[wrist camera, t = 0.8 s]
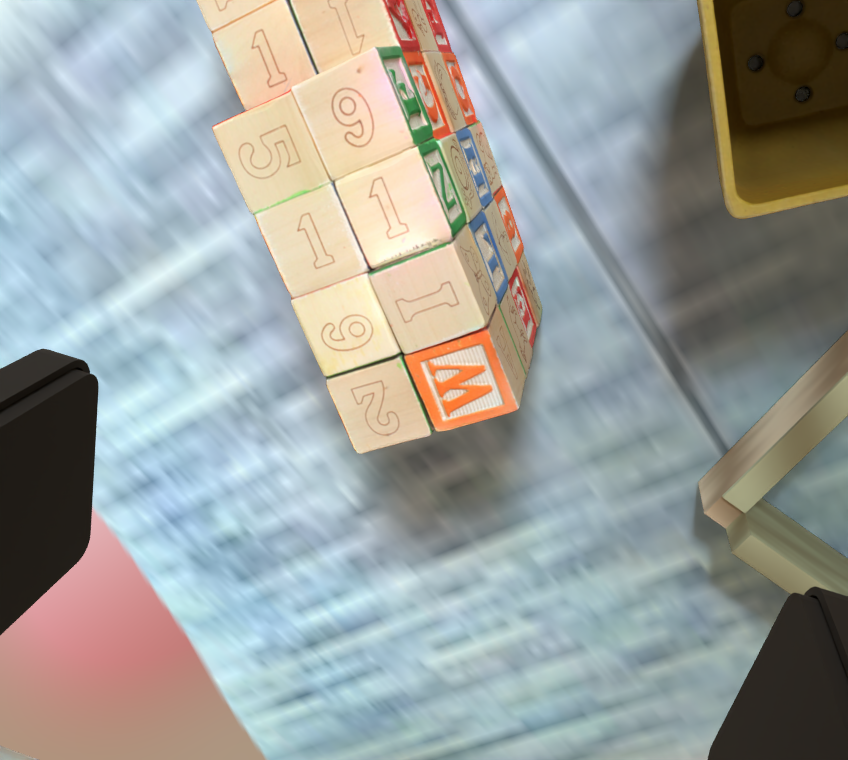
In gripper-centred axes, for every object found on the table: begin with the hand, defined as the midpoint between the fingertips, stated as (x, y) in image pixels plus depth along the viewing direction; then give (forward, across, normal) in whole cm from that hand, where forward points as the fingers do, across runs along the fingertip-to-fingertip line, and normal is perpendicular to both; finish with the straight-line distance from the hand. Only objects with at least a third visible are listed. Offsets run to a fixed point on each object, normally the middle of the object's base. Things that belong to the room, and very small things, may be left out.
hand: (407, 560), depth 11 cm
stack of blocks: (+28, +8, -2) cm, 29 cm away
